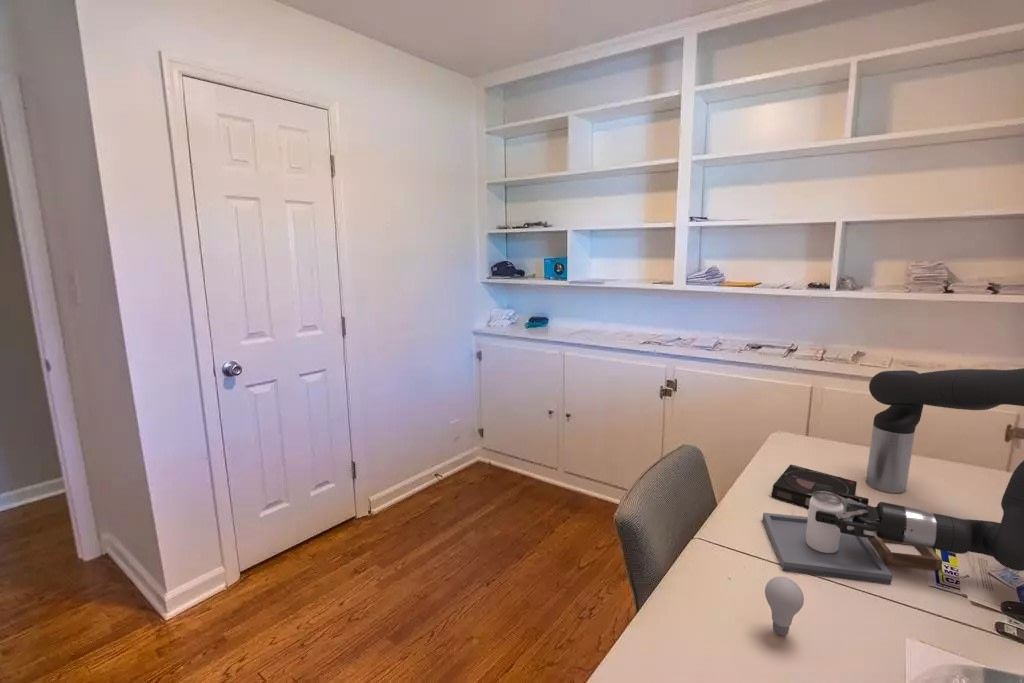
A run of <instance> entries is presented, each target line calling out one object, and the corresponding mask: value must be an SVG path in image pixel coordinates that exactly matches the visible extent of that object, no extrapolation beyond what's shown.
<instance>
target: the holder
mask: <svg viewBox="0 0 1024 683" xmlns="http://www.w3.org/2000/svg"><path fill="white" fill-rule="evenodd" d="M867 541H868V542H869V543H870V545H871V546H873V547H872V548H873V549H874V550H875V552H876V553H877V554H878V556H879V557H880V559H881V560H882V561H884V562H883V563H884V564H885V566H886V565H887V566H894V567H903V568H911V569H912V568H913V569H919V570H920V569H921V570H930V571H937V570H938V571H939V572H941V571H942V566H943V562H944V561H943V559H942V558H941V557H940V556H939V555H938V554H937V553H936V552H935V549H933V548H928V547H919V546H914V547H915V549H916V550H917V551H918V552H919V553H920V554H921V555H919V554H910V553H902V552H895V551H893V552H892V551H891V549H890V548H889V547H888V546H887V543H888V544H897V545H906V546H910V545H909V544H904V543H900V542H895V541H891V540H886V539H882V538H878V537H877V536H876V533H875V535H874V539H869V538H867Z"/></svg>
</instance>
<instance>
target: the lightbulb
mask: <svg viewBox="0 0 1024 683" xmlns="http://www.w3.org/2000/svg"><path fill="white" fill-rule="evenodd" d="M764 587H765V588H764V595H765V596H764V597H765V599H766V602H767V603H768V606H769V607H770V610H771V620H772V631H773V632H774V633H776V634H777V635H779V636H784V637H785V636H787V635H788V634H789V631H790V626H791V625H792V623H793V622H792V621H793V620H794V617H795V615H796V614H799V612H800V611H801V609H802V608H803V606H804V602H805V599H804V598H805V597H804V594H803V593H804V592H803V591H802V589H801V587H800V586H799V585H798V583H797V582H795V581H794V580H792V579H791V578H788V577H785V576H775V577H772V578H771V579H770V580H769V581H767V583H766V585H765V586H764Z"/></svg>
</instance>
